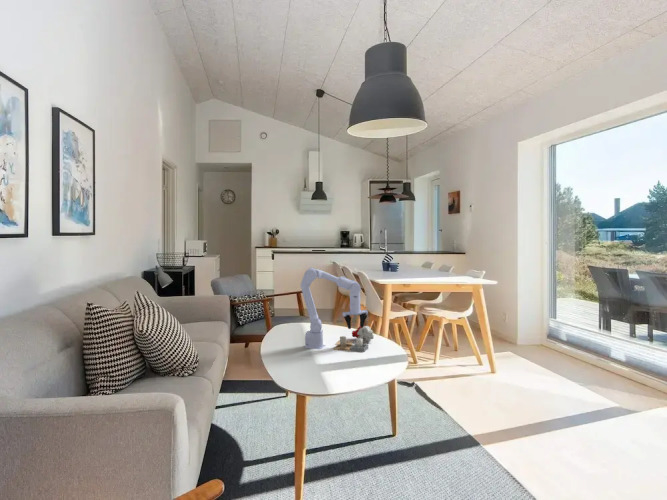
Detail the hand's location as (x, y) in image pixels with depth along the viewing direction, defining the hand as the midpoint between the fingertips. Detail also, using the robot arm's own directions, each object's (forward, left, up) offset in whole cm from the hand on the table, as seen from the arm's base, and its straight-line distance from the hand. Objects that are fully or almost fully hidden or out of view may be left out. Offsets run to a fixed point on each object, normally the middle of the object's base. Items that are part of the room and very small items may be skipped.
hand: (355, 328), depth 238 cm
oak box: (-4, -7, -10) cm, 13 cm away
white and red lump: (0, +13, -11) cm, 17 cm away
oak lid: (-8, +3, -10) cm, 13 cm away
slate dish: (+5, -7, -10) cm, 13 cm away
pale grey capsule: (+4, -6, -10) cm, 12 cm away
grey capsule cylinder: (-6, -5, -10) cm, 12 cm away
